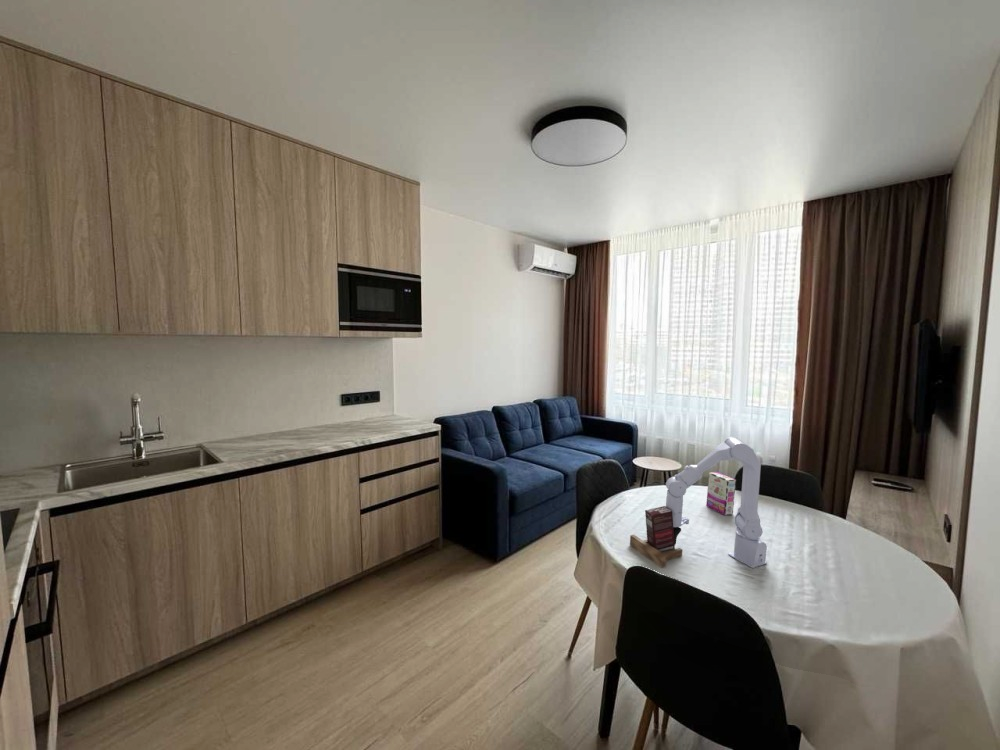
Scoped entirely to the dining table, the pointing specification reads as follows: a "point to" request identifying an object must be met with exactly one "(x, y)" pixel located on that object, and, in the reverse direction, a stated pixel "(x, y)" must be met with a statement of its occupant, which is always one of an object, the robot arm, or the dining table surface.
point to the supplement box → (660, 528)
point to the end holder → (653, 551)
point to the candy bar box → (721, 493)
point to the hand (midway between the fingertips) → (671, 544)
